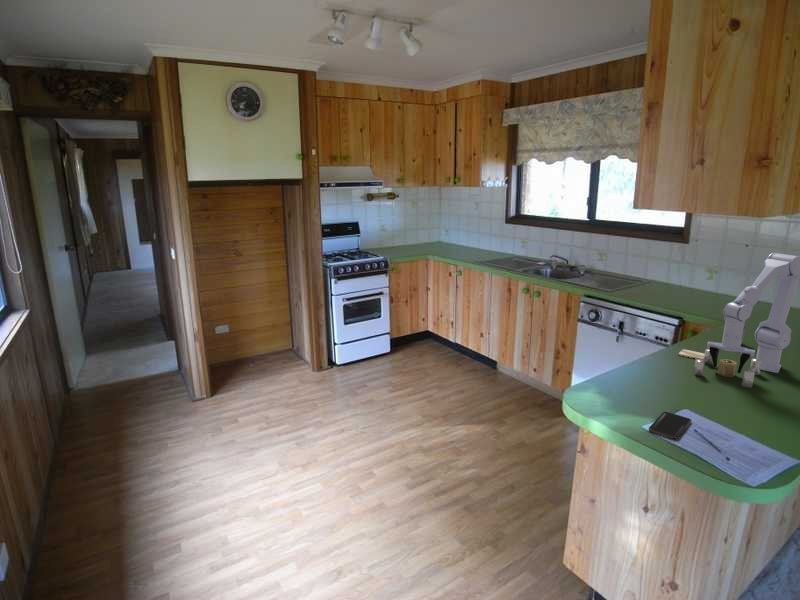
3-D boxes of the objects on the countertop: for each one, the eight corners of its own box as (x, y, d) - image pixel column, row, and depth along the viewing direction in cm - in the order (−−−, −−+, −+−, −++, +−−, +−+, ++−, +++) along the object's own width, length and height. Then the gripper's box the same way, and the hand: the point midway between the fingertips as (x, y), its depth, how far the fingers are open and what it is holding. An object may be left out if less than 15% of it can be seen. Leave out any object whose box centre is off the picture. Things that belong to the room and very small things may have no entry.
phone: (647, 428, 138) (664, 410, 148) (647, 432, 138) (663, 414, 148) (678, 438, 132) (692, 419, 143) (677, 442, 133) (692, 422, 143)
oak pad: (682, 350, 201) (682, 349, 200) (707, 356, 195) (707, 354, 194) (678, 355, 196) (678, 353, 195) (703, 360, 190) (703, 358, 189)
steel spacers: (704, 361, 189) (706, 348, 188) (759, 373, 177) (762, 359, 175) (692, 374, 176) (694, 360, 175) (751, 388, 164) (754, 373, 163)
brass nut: (719, 370, 180) (722, 357, 179) (735, 373, 177) (737, 361, 176) (716, 374, 176) (718, 361, 175) (732, 378, 173) (734, 365, 172)
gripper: (707, 333, 175) (701, 367, 178) (755, 342, 165) (748, 378, 169) (711, 329, 180) (706, 362, 183) (758, 337, 170) (752, 372, 173)
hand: (726, 369), depth 176 cm, fingers open, 7 cm apart
